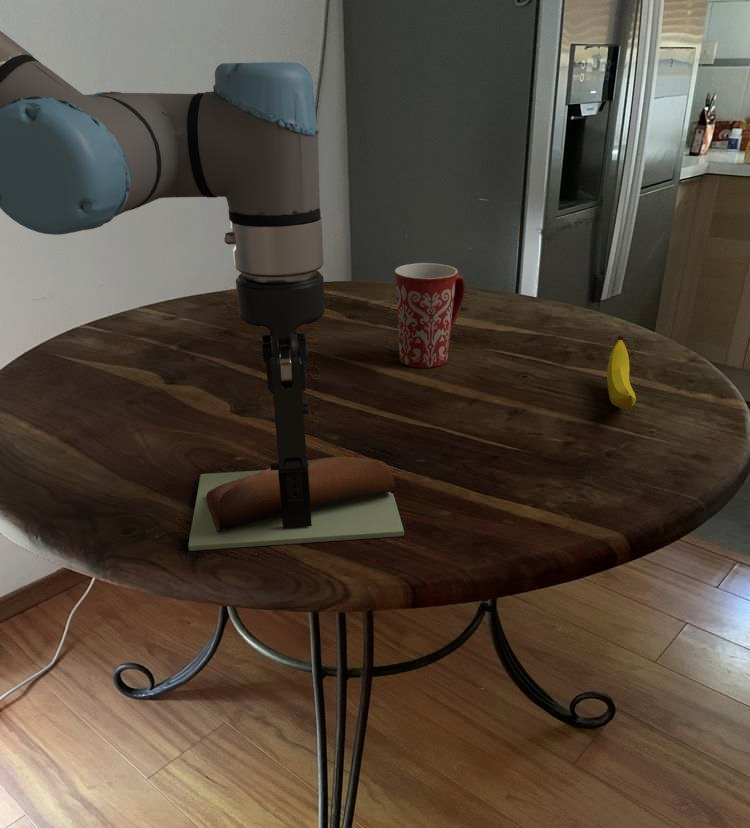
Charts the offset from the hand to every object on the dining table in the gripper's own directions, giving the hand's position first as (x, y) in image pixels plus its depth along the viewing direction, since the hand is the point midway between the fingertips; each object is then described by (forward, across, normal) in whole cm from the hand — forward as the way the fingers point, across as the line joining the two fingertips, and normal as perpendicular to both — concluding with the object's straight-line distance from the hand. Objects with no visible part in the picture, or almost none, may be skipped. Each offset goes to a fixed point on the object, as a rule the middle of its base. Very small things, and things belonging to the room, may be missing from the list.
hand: (295, 498), depth 74 cm
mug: (+1, -42, +22) cm, 47 cm away
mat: (+1, 0, 0) cm, 1 cm away
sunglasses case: (0, 0, 0) cm, 1 cm away
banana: (+1, -21, +43) cm, 48 cm away
